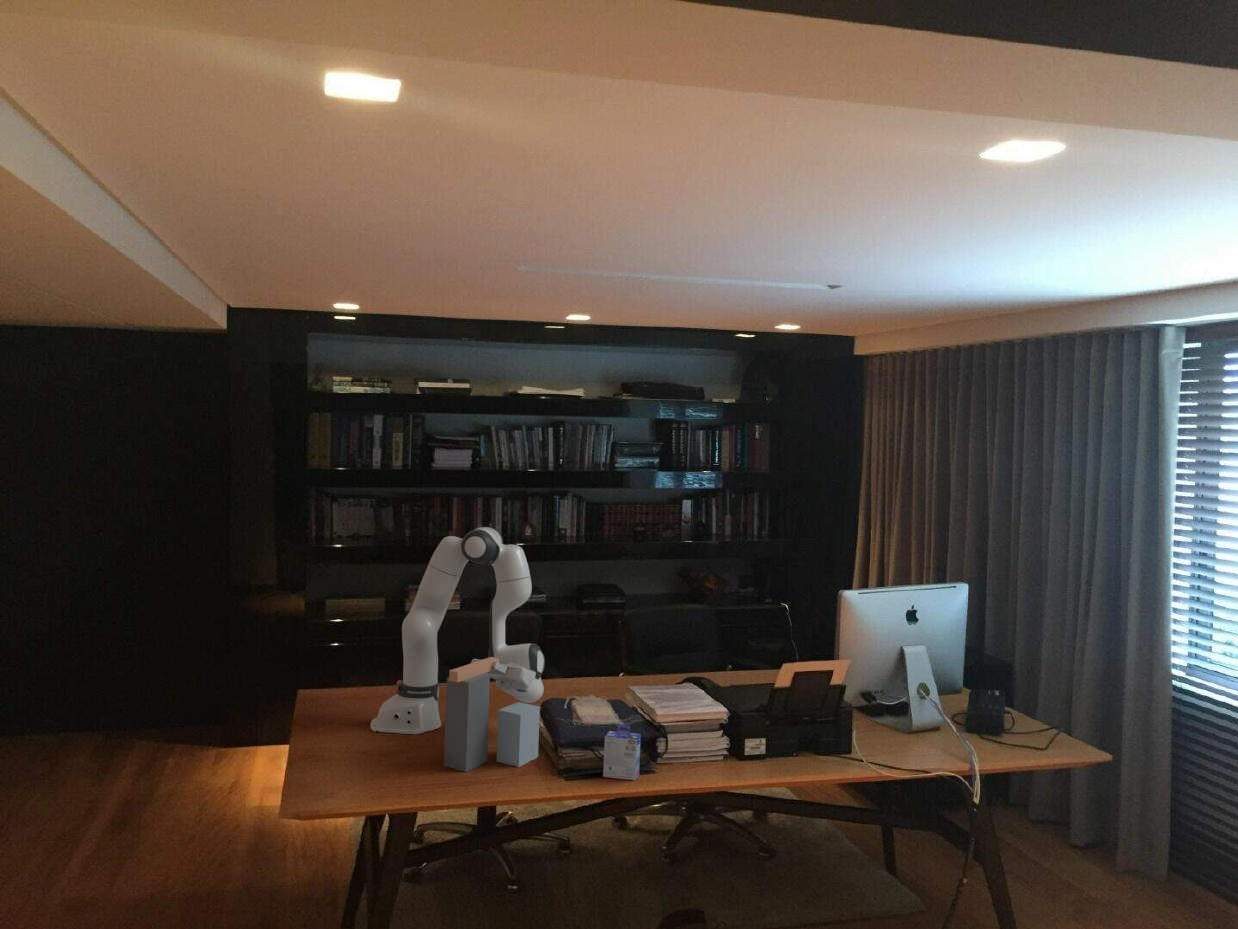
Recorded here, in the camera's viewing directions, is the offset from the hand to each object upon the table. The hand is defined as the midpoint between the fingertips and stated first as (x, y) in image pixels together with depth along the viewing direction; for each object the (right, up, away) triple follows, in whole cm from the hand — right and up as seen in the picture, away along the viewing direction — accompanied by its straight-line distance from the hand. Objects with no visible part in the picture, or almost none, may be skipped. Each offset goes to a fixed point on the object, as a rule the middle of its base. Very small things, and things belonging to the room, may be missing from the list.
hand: (487, 663), depth 297 cm
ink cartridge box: (+40, -31, -11) cm, 51 cm away
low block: (+9, -28, -1) cm, 30 cm away
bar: (-3, -2, -5) cm, 7 cm away
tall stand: (-6, -28, -7) cm, 29 cm away
